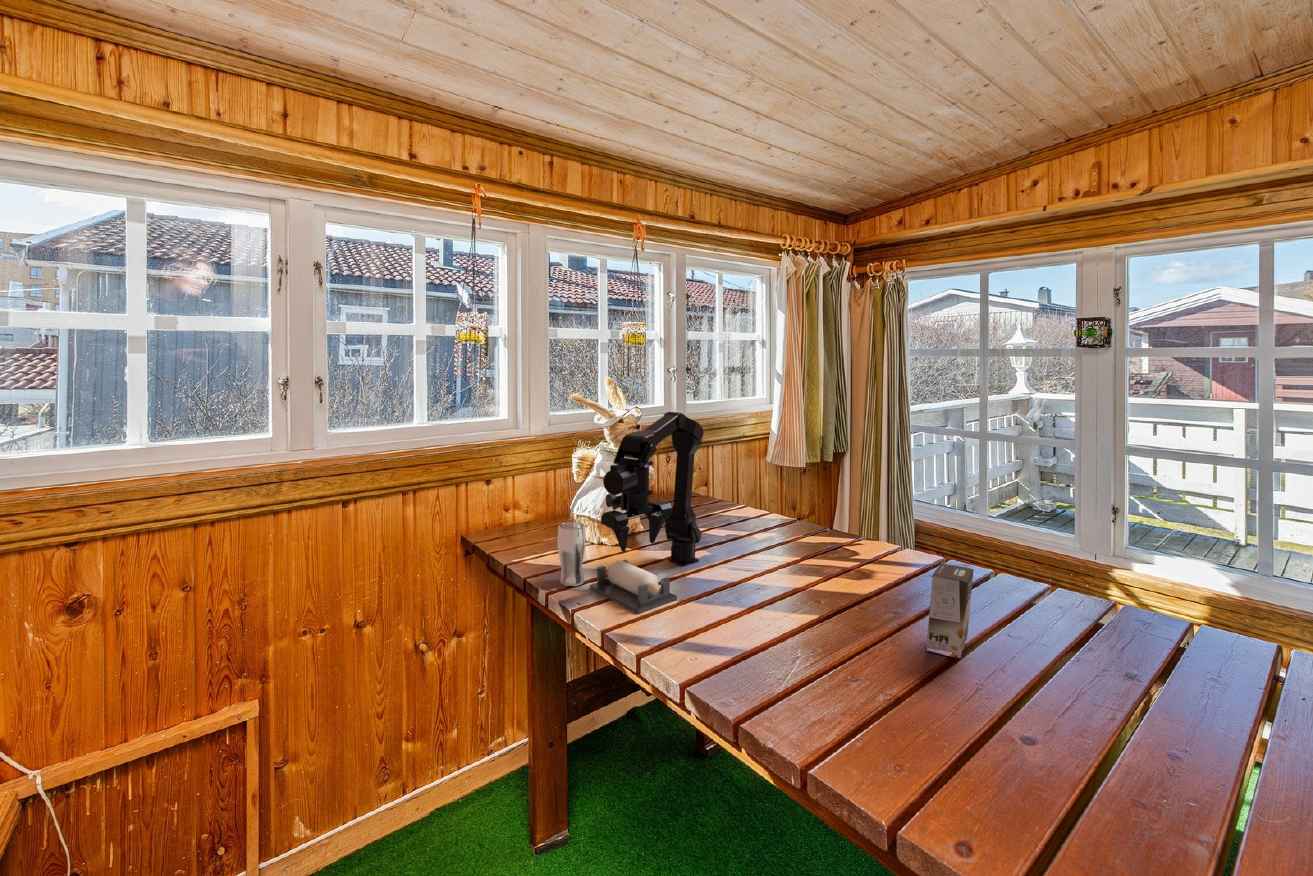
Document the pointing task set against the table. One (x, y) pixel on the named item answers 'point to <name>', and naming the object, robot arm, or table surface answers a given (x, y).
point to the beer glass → (571, 552)
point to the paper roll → (632, 578)
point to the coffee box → (950, 608)
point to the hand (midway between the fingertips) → (637, 547)
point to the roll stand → (630, 599)
